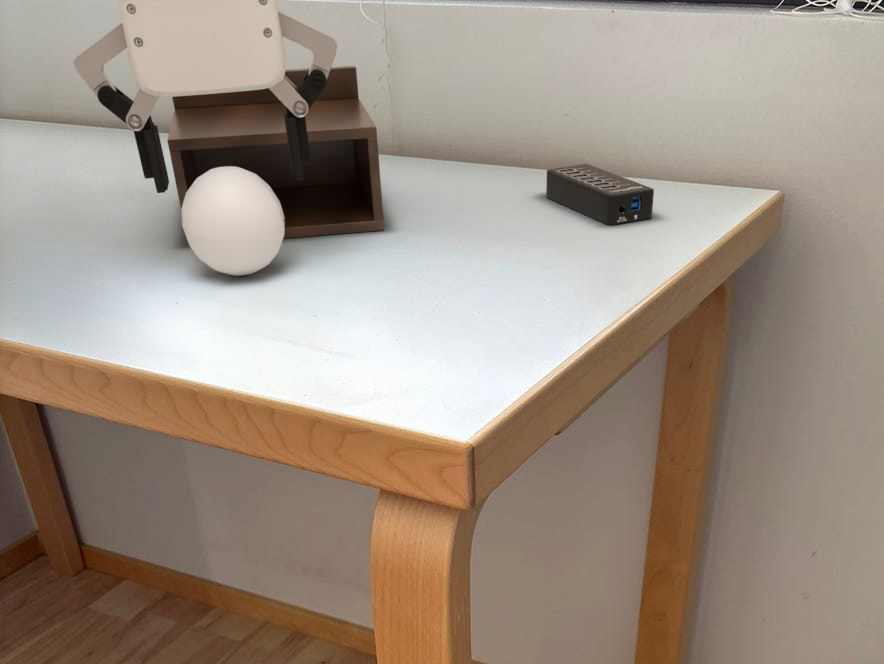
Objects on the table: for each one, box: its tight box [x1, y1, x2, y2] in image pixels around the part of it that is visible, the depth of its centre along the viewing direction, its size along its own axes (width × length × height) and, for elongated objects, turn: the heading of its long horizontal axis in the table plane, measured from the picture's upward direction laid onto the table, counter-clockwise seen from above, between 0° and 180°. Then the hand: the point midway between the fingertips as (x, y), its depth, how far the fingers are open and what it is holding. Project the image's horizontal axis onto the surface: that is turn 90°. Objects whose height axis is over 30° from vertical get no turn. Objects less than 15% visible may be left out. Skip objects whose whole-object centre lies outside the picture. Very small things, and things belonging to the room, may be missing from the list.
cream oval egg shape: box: [180, 166, 286, 277], centre depth 73 cm, size 10×7×7 cm
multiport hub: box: [545, 163, 655, 226], centre depth 86 cm, size 4×11×2 cm, turn 27°
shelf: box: [166, 65, 385, 247], centre depth 83 cm, size 16×14×10 cm
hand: (231, 182), depth 71 cm, fingers open, 9 cm apart
